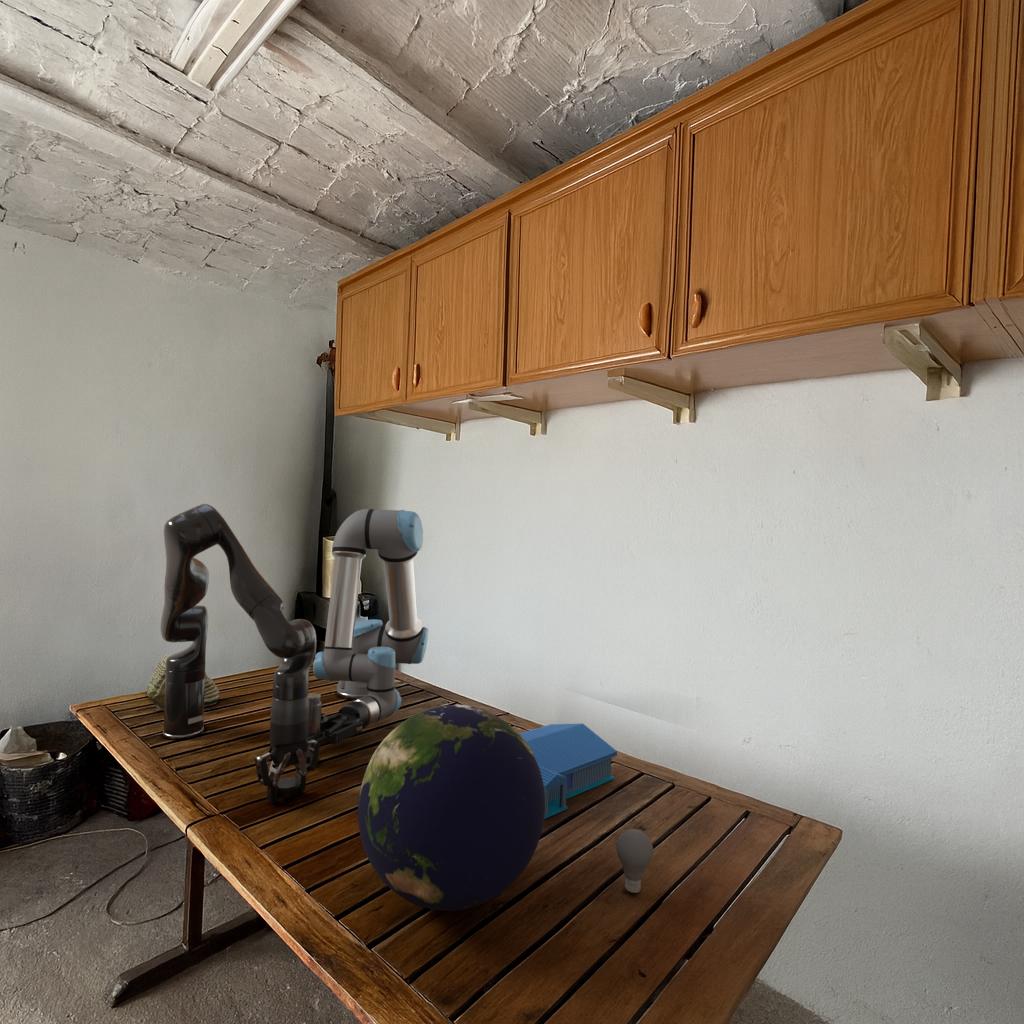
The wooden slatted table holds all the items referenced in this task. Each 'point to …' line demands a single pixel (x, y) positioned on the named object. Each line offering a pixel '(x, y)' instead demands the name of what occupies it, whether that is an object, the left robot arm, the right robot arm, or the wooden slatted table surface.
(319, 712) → the jar
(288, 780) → the lid
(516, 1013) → the wooden slatted table surface
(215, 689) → the fossil
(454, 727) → the globe
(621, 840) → the light bulb
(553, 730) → the model building
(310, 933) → the wooden slatted table surface
